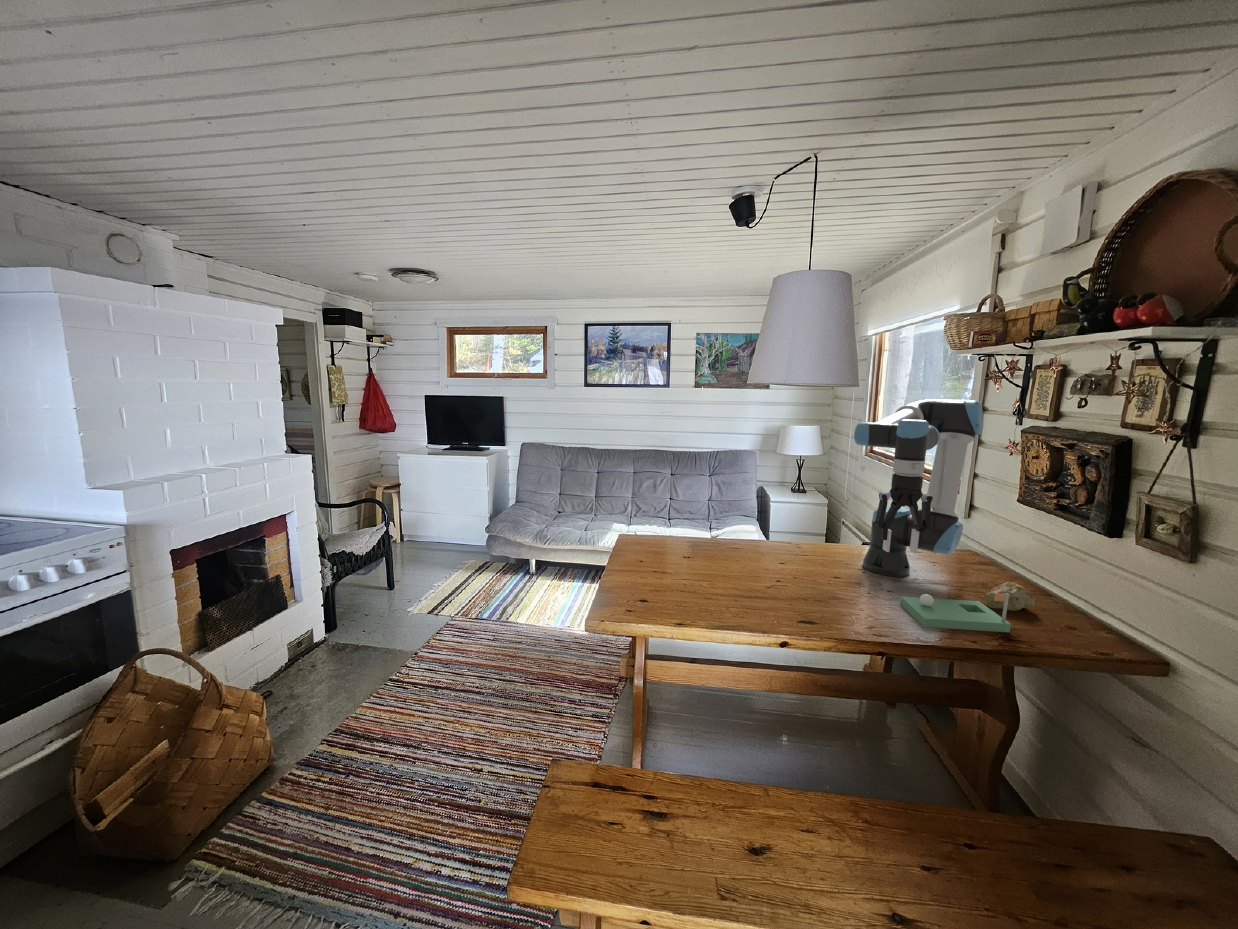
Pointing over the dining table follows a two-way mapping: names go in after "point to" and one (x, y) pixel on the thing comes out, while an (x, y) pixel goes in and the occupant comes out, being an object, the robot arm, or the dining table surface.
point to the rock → (1010, 597)
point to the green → (958, 614)
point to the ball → (926, 600)
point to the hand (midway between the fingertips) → (899, 551)
